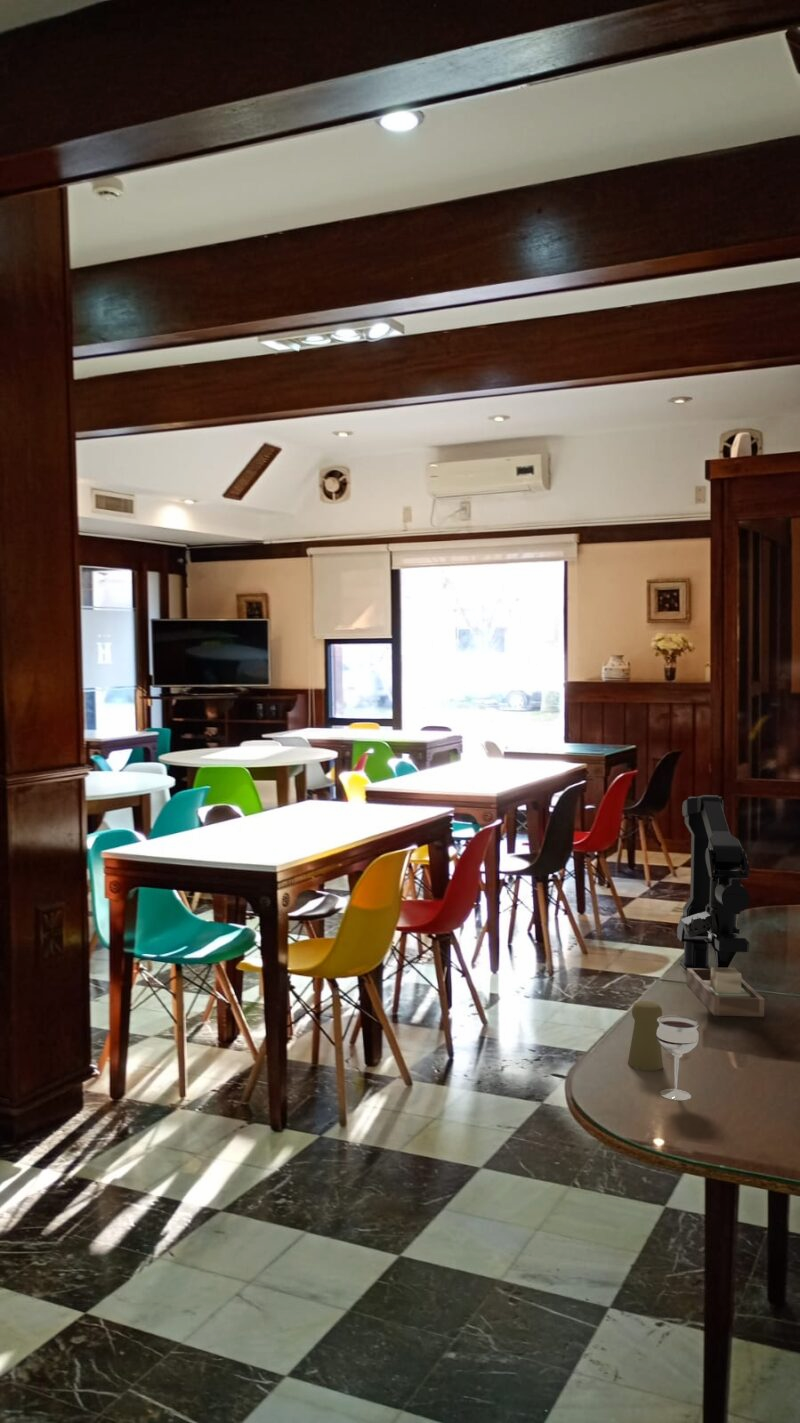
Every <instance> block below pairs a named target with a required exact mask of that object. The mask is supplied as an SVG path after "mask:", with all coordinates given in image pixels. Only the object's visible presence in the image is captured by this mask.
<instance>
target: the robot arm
mask: <svg viewBox="0 0 800 1423" xmlns="http://www.w3.org/2000/svg"><path fill="white" fill-rule="evenodd" d="M681 810H682V811H681V814H682V816H683V817H684V824H685V825H686V828H687V830H688V831H689V832H690V834H691V836H690V840H691V843H690V895H689V896H690V897H689V898H688V899H687V901H686V903H685V904H684V906H683V908H682V915H680V919H679V921H678V924H677V928H676V933H677V934H676V936H677V939H678V940H679V941H680V943H684V946H683V951H684V952H683V960H682V959H681V960H679V964H680V965H681V966H682V967H683V968H684V969H685V970H687V968H702V969H711V967H713V966H712V965H711V963H710V947H711V949H712V952H713V957H714V962H715V966H716V967H721V968H729V967H730V965H731V963H732V961H733V959H734V958H735V956H736V954H737V953H749V952H750V941H748V940H747V938H745V937H744V935H742V934H740V928H739V927H738V926H737V924H738V915H741V912H744V910H746V908H748V906H749V904H750V902H751V901H750V900H751V896H750V892H749V891H748V889H747V888H746V887H745V886H744V885H742V880H743V879H744V880H748V879H749V875H750V871H751V869H750V865H749V864H750V863H749V860H748V855H747V854H746V850H745V849H744V848H743V847H742V844H741V842H740V840H739V839H738V838H737V837H735V836H733V835H732V834H731V832H730V829H729V824H728V823H727V818H726V815H725V811H724V800H723V797H722V796H719V795H711V794H707V795H706V794H702V795H699V796H688V797H687V799H685V800H684V801H683V802H682V806H681Z"/></svg>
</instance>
